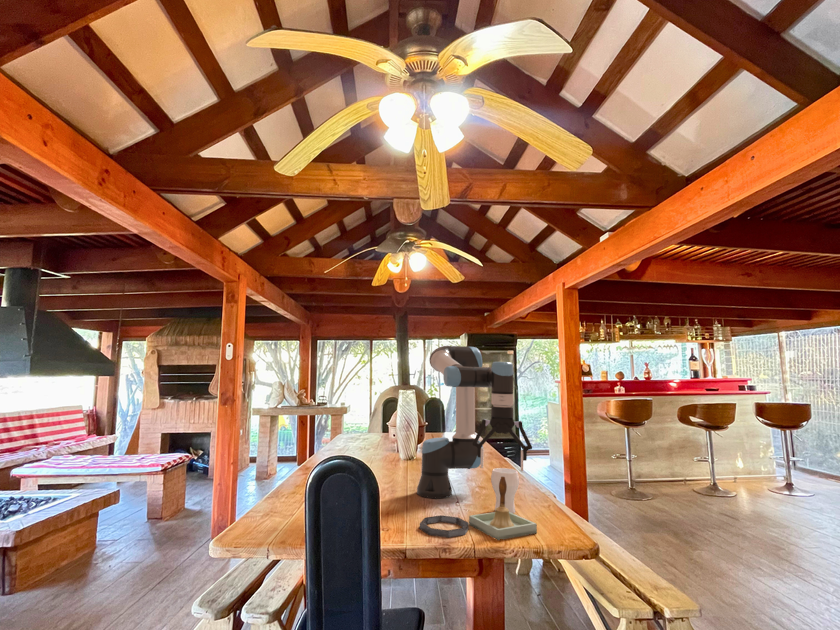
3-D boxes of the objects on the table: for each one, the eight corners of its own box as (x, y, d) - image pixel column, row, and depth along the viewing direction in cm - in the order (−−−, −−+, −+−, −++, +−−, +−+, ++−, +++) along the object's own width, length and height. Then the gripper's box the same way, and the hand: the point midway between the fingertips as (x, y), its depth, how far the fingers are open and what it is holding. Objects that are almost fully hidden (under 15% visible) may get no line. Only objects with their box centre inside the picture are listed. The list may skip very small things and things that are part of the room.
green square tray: (469, 524, 153) (469, 515, 154) (505, 519, 161) (505, 510, 161) (497, 540, 139) (497, 530, 140) (536, 533, 147) (536, 523, 147)
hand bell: (510, 521, 155) (509, 474, 157) (518, 529, 146) (517, 479, 149) (486, 522, 154) (487, 474, 156) (493, 530, 145) (493, 479, 148)
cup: (519, 516, 164) (519, 474, 166) (490, 513, 166) (490, 472, 168) (518, 508, 174) (518, 468, 176) (491, 506, 177) (491, 466, 179)
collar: (413, 524, 152) (413, 519, 152) (451, 519, 159) (451, 513, 159) (435, 539, 138) (435, 533, 139) (476, 532, 145) (476, 527, 146)
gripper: (465, 405, 155) (464, 468, 152) (539, 408, 149) (539, 473, 147) (467, 403, 162) (466, 463, 159) (538, 406, 156) (538, 469, 154)
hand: (501, 468), depth 153 cm, fingers open, 13 cm apart
